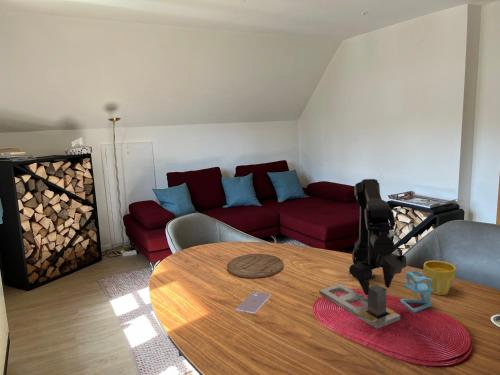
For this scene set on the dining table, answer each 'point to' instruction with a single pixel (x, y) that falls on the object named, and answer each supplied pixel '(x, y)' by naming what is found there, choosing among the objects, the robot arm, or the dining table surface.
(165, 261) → the dining table surface
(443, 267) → the plant pot
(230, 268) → the trivet
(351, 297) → the grey slotted board
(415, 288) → the light blue stand
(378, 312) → the steel peg
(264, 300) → the mobile phone
